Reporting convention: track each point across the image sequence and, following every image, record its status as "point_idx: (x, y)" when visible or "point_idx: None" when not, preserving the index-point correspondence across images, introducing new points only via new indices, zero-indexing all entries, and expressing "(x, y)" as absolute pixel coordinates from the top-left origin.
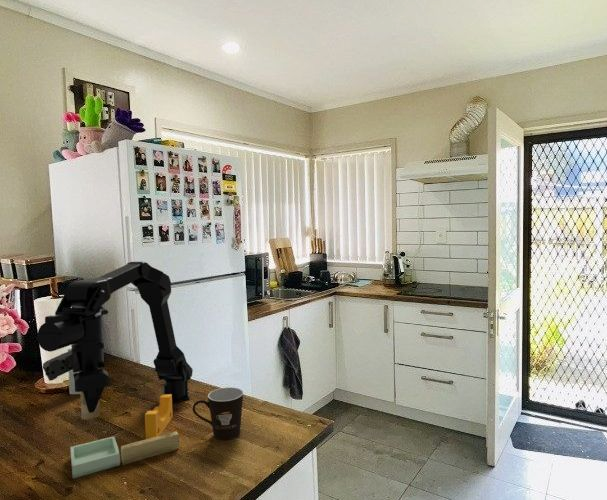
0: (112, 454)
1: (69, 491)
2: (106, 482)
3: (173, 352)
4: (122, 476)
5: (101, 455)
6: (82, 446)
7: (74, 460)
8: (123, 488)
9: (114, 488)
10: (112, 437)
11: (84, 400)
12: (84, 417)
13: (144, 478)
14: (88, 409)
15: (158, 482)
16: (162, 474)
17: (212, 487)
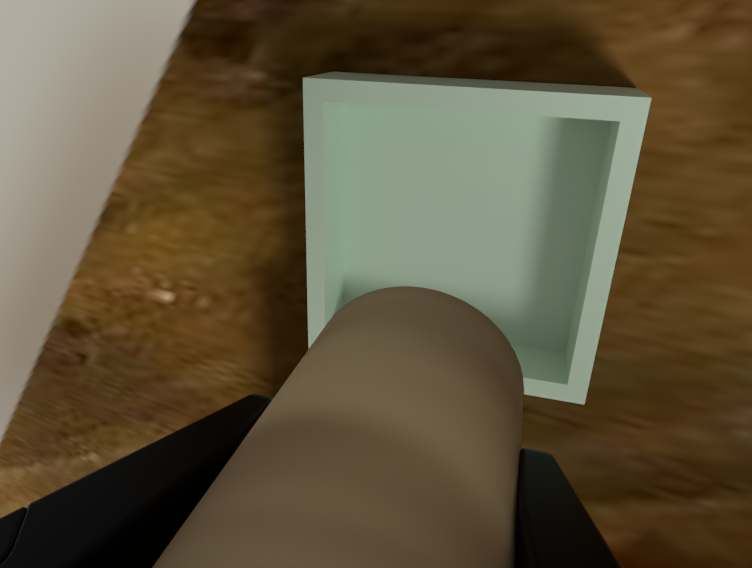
0: (319, 322)
1: (206, 40)
2: (203, 225)
3: None
4: (220, 299)
5: (480, 270)
6: (603, 187)
7: (379, 102)
8: (121, 275)
9: (137, 244)
10: (569, 389)
11: (213, 490)
12: (338, 317)
13: (159, 365)
14: (212, 419)
15: (109, 393)
16: (157, 426)
17: (17, 498)
